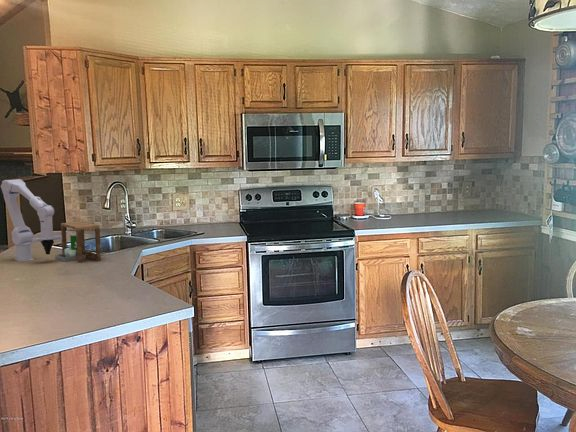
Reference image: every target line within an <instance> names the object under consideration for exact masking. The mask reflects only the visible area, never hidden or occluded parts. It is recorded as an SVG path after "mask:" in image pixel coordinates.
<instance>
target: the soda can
mask: <svg viewBox="0 0 576 432" xmlns="http://www.w3.org/2000/svg"><path fill="white" fill-rule="evenodd" d="M69 237H70V238H69V239H70V248H71V249H72V250H76V252H77V239H76V231H72V232H71V233H70V234H69Z"/></svg>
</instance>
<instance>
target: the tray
mask: <svg viewBox="0 0 576 432" xmlns="http://www.w3.org/2000/svg"><path fill="white" fill-rule="evenodd" d="M54 256H55V257H54V259H56V260H59V261H61V262H63V263H67V262H72V261H78V260H77V252H76V256H74V257H67V258H65V254H62V253H58V254H55V255H54ZM82 260H87V256H86V255H84V254H82Z"/></svg>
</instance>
